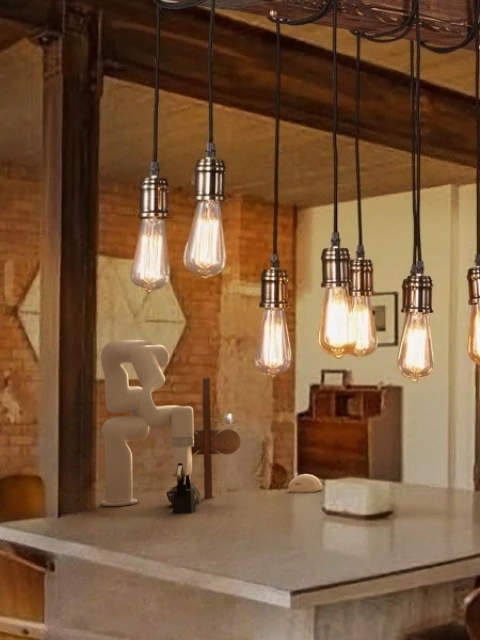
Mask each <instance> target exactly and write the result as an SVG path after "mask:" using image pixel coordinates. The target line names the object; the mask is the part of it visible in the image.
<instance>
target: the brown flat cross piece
mask: <svg viewBox="0 0 480 640" xmlns="http://www.w3.org/2000/svg"><path fill="white" fill-rule="evenodd" d="M211 415H212V412H211V377H209V376H204V377H203V378H202V429H194V446H192V447H191V450H192V455H194V454H195V455H197V456H198V455H199V456H200V455H202V456H203V470H204V471H203V478H204V479H203V489H204V491H203V492H204V493H203V494H204V495H203V496H204V499H211V498H213V463H212V462H213V461H212V459H213V457H212V455H220V454H223V455H226V456H227V455H232V454H234V453H236V452H237V451H238V450H239V448H240V447H241V437H240V435H239V433H238V432H237V431H236V430H234V429H231V428H226V429H223V430H221V429H212V419H211V418H212V417H211Z"/></svg>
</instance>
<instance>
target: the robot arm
mask: <svg viewBox="0 0 480 640" xmlns="http://www.w3.org/2000/svg"><path fill="white" fill-rule="evenodd" d="M169 361H170V354H169V351H168V349H167V348H166V347H165V346H164V345H162V344H160V343H157V342H153V341H151V340H147V339H117V340H112V341H111V340H110V341H109V342H107V343H106V344H105V345H104V346H103V348H102V350H101V353H100V362H101V366H102V370H103V375H104V396H105V399H104V400H105V406H106V409H107V411H108V412H109V413H112V414H123V413H130V415H122V416H113V417H111V418H108V419H107V420H105V421H104V423H103V425H102V429H101V430H102V437H103V443H104V453H105V455H104V456H105V500H102V501H101V506H105V507H121V506H122V507H123V506H131V505H134V504H137V503H138V499H137V498H134V496H133V495H134V490H133V489H134V488H133V485H134V484H133V476H134V475H133V453H132V450H131V448H130V446H129V445H128V443H130V442H131V443H132V442H139V441H143V440H145V439H146V438H147V437H148V435H149V433H150V428H151V429H163V428H171V448H173V452H172V453H173V455H172V476H173V477H176V486H177V497H186V496H187V489H190V488H191V482H192V481H191V474H192V472H193V454H192V450H191V447H192V446H194V432H195V428H194V427H195V426H194V424H195V422H194V420H195V419H194V408H193V407H192V406H190V405H184V406H181V405H177V404H172V405H171V404H170V405H159V406H158V405H157V406H156V405H155V402H154V400H153V397H152V393H154V392H156V391H158V390H159V389H160V388H161V387H162V386H164V384H165V382H166V377H165V375H164V372H163V371H162V369H161V368H165V367H167V366H168V364H169V363H170V362H169ZM123 364H131V365H132V367H133V369H134V372H135V373H136V376H137V378H138V381H139V382H140V383H139V384H140V385H141V386H140V385H129V374H128V371H127V370H126V368H125V366H124V365H123Z"/></svg>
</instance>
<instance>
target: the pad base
mask: <svg viewBox="0 0 480 640" xmlns="http://www.w3.org/2000/svg"><path fill="white" fill-rule="evenodd" d="M195 511H196V502H195V503H194V504H192V505H191V506H174V505H172V514H193V512H195Z"/></svg>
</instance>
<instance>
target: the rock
mask: <svg viewBox="0 0 480 640" xmlns="http://www.w3.org/2000/svg"><path fill="white" fill-rule="evenodd" d="M190 482H191V488H194V496H195V503H196V502H198V501H200V500H201V498H202V497H201V492H200V490H199V489H198V487H197V485H196V484H195V483H193V482H192V481H190ZM176 489H177V485H175V486H173V487H171V488H170V490H168V491H166V497H167V500H168V502H169V503H170V504H171V505H172V506H174V499H173V491H175V490H176Z"/></svg>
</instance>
